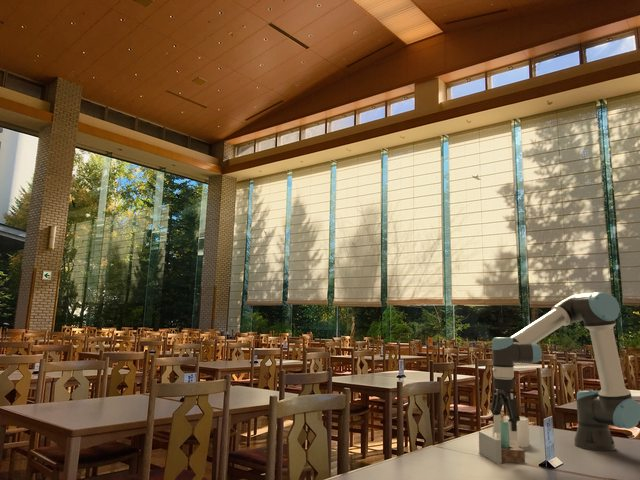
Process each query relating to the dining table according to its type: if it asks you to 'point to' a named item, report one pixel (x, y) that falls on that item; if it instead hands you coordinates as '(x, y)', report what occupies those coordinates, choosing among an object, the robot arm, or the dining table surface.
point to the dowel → (504, 434)
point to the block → (512, 454)
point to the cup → (514, 442)
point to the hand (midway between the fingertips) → (505, 436)
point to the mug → (522, 431)
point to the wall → (490, 447)
